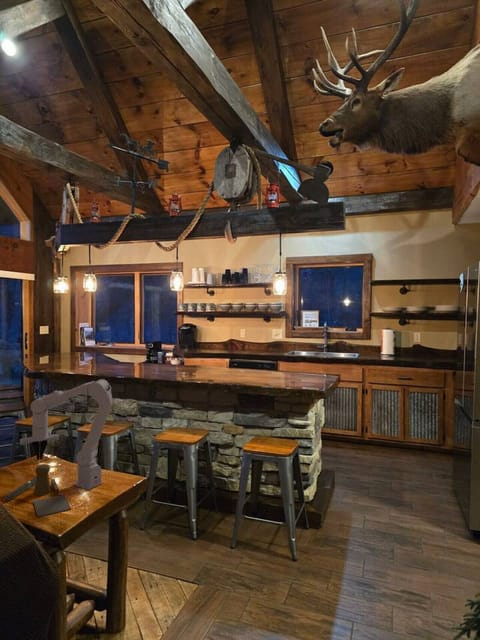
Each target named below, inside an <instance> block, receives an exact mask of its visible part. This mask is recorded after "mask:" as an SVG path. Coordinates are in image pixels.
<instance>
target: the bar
mask: <svg viewBox="0 0 480 640" xmlns="http://www.w3.org/2000/svg"><path fill="white" fill-rule="evenodd" d="M36 477H37V475H36V476H35V477H33V478H32V479H30V480H26V481H24V484H22V485H21V486H19V487H17V488H15V489H14V490H13V491H11V492H10V493H8V494H6V496H5V501H6V502H11V500H13V499H14V498H16V497H18V496H19V495H20V494H23V492H25V491H27V490H28V489H30V488H31V487H32V486H34V485H35V484H36Z"/></svg>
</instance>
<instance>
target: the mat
mask: <svg viewBox="0 0 480 640" xmlns="http://www.w3.org/2000/svg"><path fill="white" fill-rule="evenodd" d="M32 502H33V503H32V504H33V506H34V509H35V513H36V516H37V518H39V517H45V516H49V515H54V514H58V512H59V513H62V512H67V511H71V510H72V508H71V505H70V503H69V500H67V497H66V495H65V494H60V495H59V496H56V495H55V496H52V497H51V496H50V497H47V498H41V499H36V500H33V501H32Z"/></svg>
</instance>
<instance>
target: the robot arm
mask: <svg viewBox="0 0 480 640" xmlns="http://www.w3.org/2000/svg"><path fill="white" fill-rule="evenodd" d="M82 394H83V395H85V396H90V397H91V398H92V399H93V400H95V401H96V402H97V405H98V409H97V411H96V413H95V416H94V419H93V421H92V424H91V426H90V430H89V431H88V434H87V437H86V440H85V442H84V443H83V445H82V447H81V449H80V450H79V452H77V454H76V456H75V461H76V463H77V481H76V482H73V483H72V486H75V487H78V488H81V489H85V490H91V489H93V488H96V487H97V486H99V485H101V484H103V481H102V468H101V465H99V464H97V460H96V457H97V455H98V451H99V449H98V447H99V441H100V438H101V436H102V433H103V429H104V428H105V426H106V425H105V424H106V422H107V420H108V417H109V415H110V411H111V410H112V407H113V403H114V400H113V394H112V386H111V385H110V383H109V382H108V381H107V380H106V379H104V378H100V379H98V380H93V381H89V382H86V383H83V384H81V385H80V384H79V386H78V385H77V386H76V387H74V388H71V389H69V390H66V391H62V390H53V391H52V393H50V394H47V395H45V394H44V395H42V396H41V397H39V398H36V399H35V400H33V401H32V402H31V403H30V411H31V412H32V428H31V429H32V433H31V435H32V436H29V437H25V438H24V437H23V438H20V439H19V445H21V446H23V445H27V444H32V446H33V449H34V451H35V455H36V460H37V461H40V460H43V456H44V453H45V450H46V448H47V446H48V445H49V441H59V439H60V435H59V434H58V433H57V434H48V433H49V432H48V431H49V429H48V426H49V423H48V422H49V421H48V420H49V415H48V414H49V410H51V409H54V408H56V407H58V406H61V405H64V404H65V403H66V401H67V399H71V398H74V397H77V396H80V395H82Z"/></svg>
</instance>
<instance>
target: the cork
mask: <svg viewBox="0 0 480 640" xmlns="http://www.w3.org/2000/svg"><path fill="white" fill-rule="evenodd" d="M50 470H51V466H50V465H49V464H47V463H45V464H43V463H42V464H39V465H37V466H36V467H35V474H36V476H37V477H36V476H35V477H36V484H34V485H35V486H34V490H33V495H34V496H36V497H43V496H47V495H49V494H50V493H51V482H50V477H49V473H50Z"/></svg>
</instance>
